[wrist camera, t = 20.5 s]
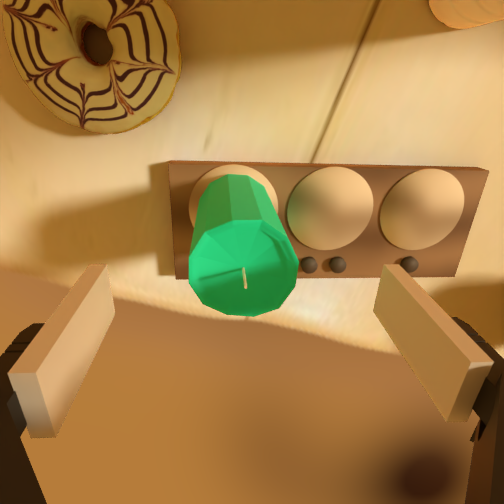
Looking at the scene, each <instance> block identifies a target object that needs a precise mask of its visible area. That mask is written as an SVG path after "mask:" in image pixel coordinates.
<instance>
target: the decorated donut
mask: <svg viewBox="0 0 504 504" xmlns="http://www.w3.org/2000/svg"><path fill="white" fill-rule="evenodd" d="M93 23H94V24H95V25H97V26H98V27H99V28H101V29H106V32H107V35H108V39H109V41H110V43H111V44H112V46H113V55H112V57H111V59H110V61H109V62H108V63H107V64H103V65H100V64H99V63H98V62H97V63H96V62H95V61H93V60H92V59H91V58H90V57H89V56H88V55H87V54H86V52H85V50H84V47H83V46H84V43H83V33H84V31H86V29H87V27H88V26H89V25H91V24H93ZM3 28H4V33H5V38H6V41H7V44H8V47H9V50H10V53H11V56H12V58H13V61H14V64H15V66H16V68H17V70H18V71H19V73H20V75H21V77H22V79H23V80H24V82H25V83H26V84H27V86H28V87H29V88H30V89H31V90H32V92H33V93H34V95H35V96H36V97H37V98H38V100H39V101H40V102H41V103H42V104H43V105H44V106H45V107H46V108H47V109H49V110H50V111H51V112H52V113H53V114H54V115H55V116H56V117H58V118H59V119H61V120H63V121H65V122H66V123H68V124H70V125H75V126H77V127H80V128H82V129H85V130H87V131H91V132H98V133H102V134H118V133H122V132H126V131H129V130H132V129H134V128H137V127H138V126H140V125H142V124H144V123H146V122H148V121H150V120H151V119H153V118H154V117H155V116H156V115H157V114H159V113H160V112H162V110H163V109H164V108H165V107H166V106H167V104H168V103H169V102H170V101H171V98H172V96H173V93H174V89H175V85H176V83H177V82H178V80H179V78H180V73H181V67H182V58H181V53H180V46H179V39H180V35H179V27H178V23H177V20H176V18H175V15H174V13H173V11H172V9H171V7H170V6H169V5H168V4H167V1H166V0H3Z"/></svg>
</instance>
